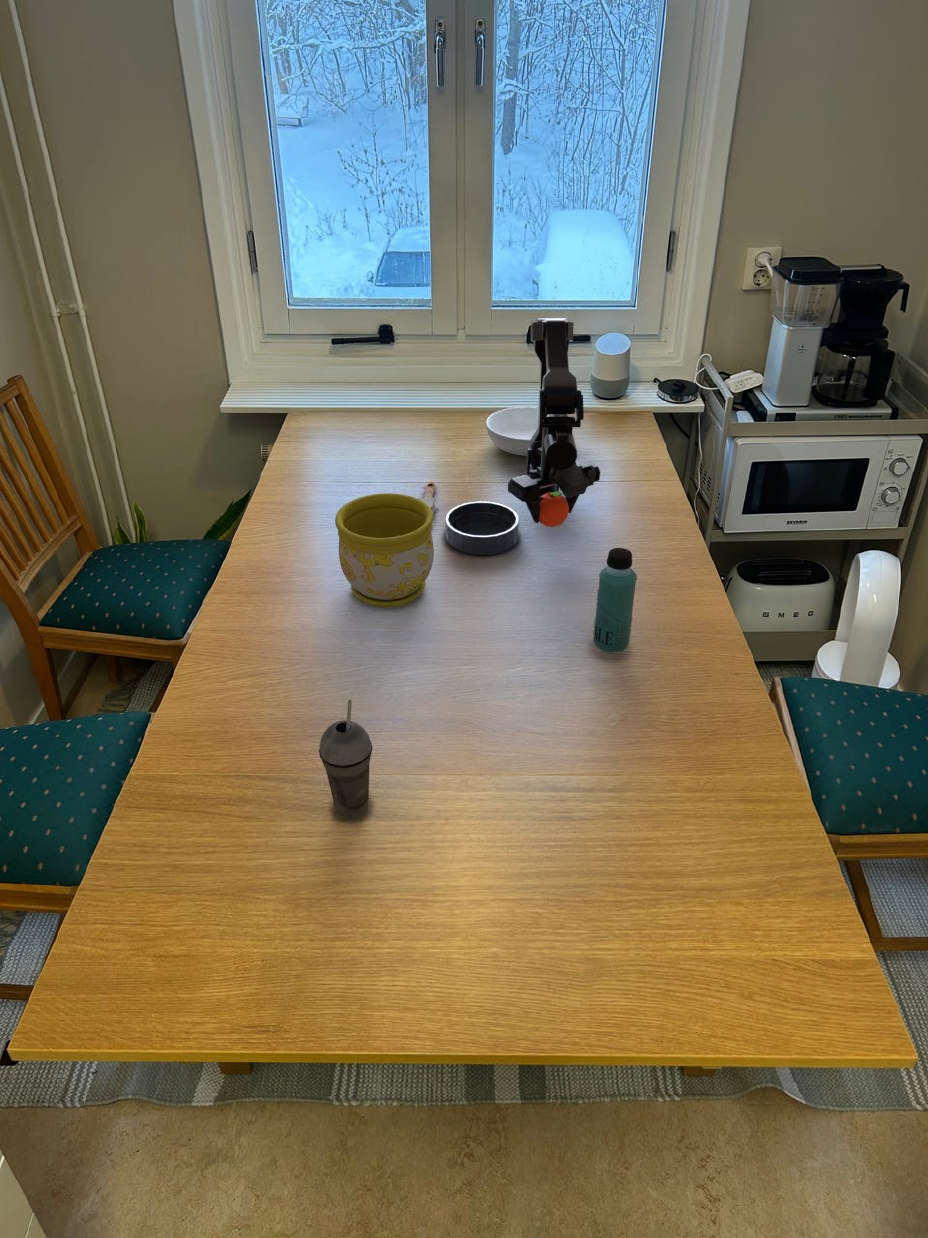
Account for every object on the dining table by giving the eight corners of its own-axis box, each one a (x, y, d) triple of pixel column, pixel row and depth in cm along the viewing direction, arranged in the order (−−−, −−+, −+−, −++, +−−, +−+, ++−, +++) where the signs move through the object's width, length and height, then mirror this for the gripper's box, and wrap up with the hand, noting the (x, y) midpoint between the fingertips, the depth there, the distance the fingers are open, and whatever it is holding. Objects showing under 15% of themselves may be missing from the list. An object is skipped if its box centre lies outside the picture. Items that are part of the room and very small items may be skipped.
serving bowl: (573, 466, 222) (574, 439, 218) (486, 466, 222) (486, 439, 218) (566, 430, 239) (567, 405, 235) (485, 430, 239) (486, 405, 235)
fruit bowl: (493, 513, 203) (493, 495, 200) (531, 543, 192) (532, 524, 190) (433, 531, 197) (432, 512, 194) (469, 563, 186) (469, 544, 183)
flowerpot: (322, 591, 178) (314, 516, 168) (390, 555, 188) (386, 483, 179) (386, 628, 168) (381, 551, 158) (454, 588, 178) (453, 513, 169)
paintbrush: (411, 517, 195) (423, 479, 212) (412, 529, 196) (423, 490, 213) (429, 518, 195) (440, 479, 211) (430, 529, 196) (440, 490, 213)
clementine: (552, 511, 192) (554, 480, 188) (578, 522, 188) (580, 491, 184) (526, 524, 187) (528, 493, 183) (552, 537, 183) (554, 505, 179)
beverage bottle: (632, 642, 164) (644, 545, 152) (624, 664, 159) (636, 565, 147) (596, 635, 166) (605, 539, 154) (587, 656, 161) (596, 558, 149)
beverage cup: (327, 791, 135) (313, 685, 123) (377, 788, 135) (368, 682, 123) (325, 829, 129) (311, 721, 117) (377, 825, 129) (368, 718, 118)
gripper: (540, 473, 168) (536, 547, 177) (621, 451, 176) (613, 522, 185) (507, 451, 176) (505, 522, 185) (585, 430, 184) (580, 499, 193)
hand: (552, 517), depth 187 cm, fingers closed on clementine, 8 cm apart
